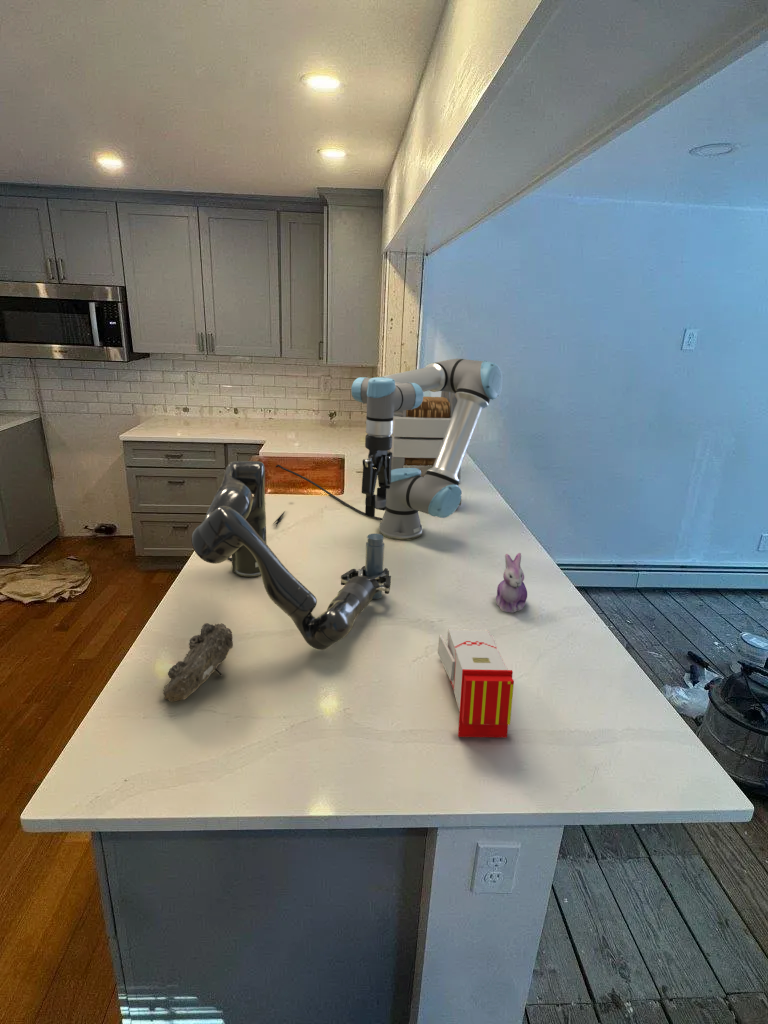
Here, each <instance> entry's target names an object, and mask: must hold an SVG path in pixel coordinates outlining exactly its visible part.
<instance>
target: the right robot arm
mask: <svg viewBox="0 0 768 1024" xmlns="http://www.w3.org/2000/svg"><path fill="white" fill-rule="evenodd" d="M503 380H504V379H503V373H502V370H501V367H500V366H499V365H498V364H497V363H495V362H492V361H487V360H477V359H476V360H474V359H467V358H466V359H465V358H451V359H450V358H449V359H445V360H441V361H435V362H432V363H428V364H427V365H425V367H422V368H417V369H412V370H406V371H402V372H396V373H391V374H387V375H382V376H377V377H367V376H365V377H361V376H360V377H357V378H356V379H354V380H353V382H352V384H351V387H350V388H351V389H350V390H351V396H352V398H353V400H354V401H355V402H358V403H362V405H363V404H364V405H366V416H365V417H366V418H365V419H366V420H365V433H366V435H365V443H364V446H365V449H367V450H368V455H367V458H366V459H365V458H364V459H362V478H361V494H363V495H365V499H366V505H365V506H364V507H365V510H364V511H363V510H360V509H358V508H356V507H354V506H353V505H351V504H349V503H347V502H346V501H343V500H342V499H341V498H339V497H337V496H336V495H334V494H333V493H331V491H328V490H327V489H325V488H324V487H322V486H320V485H319V484H318V483H316V482H314V481H312V480H311V479H309V478H307V477H305V476H303V475H301V474H300V473H297V472H295V471H292V470H290V469H288V468H285V467H284V466H282V465H280V464H276V465H275V468H280V469H282V470H284V471H286V472H288V473H291V474H293V475H294V476H296V477H298V478H301V479H303V480H304V481H306V482H307V483H309V484H311V485H313V486H315V487H316V488H318V489H320V490H321V491H322V492H325V493H326V494H327V495H329V496H330V497H332V498H333V499H334V500H336V501H338V502H340V503H341V504H342V505H344V506H346V507H348V508H349V509H351V510H352V511H355V512H357V513H359V514H361V515H363V516H365V517H368V518H370V519H373V520H377V521H381V522H379V526H378V533H379V534H381V535H383V537H384V538H387V539H389V540H395V541H410V540H415V539H418V538H420V537H421V536H422V535H423V525H422V524H421V518H420V515H419V512H420V513H423V514H426V515H429V516H431V517H437V518H441V519H445V518H448V517H450V516H451V515H453V514H454V513H455V512H456V511H457V509H458V508H459V504H460V501H461V502H462V489H461V487H460V486H459V485H460V483H461V481H460V482H459V479H458V477H457V475H458V472H459V469H460V467H461V468H462V464H463V462H464V458H465V456H466V453H467V451H468V447H469V445H470V443H471V440H472V436H473V434H474V432H475V429H476V426H477V423H478V421H479V418H480V416H481V413H482V410H483V409H486V408H487V407H488V406H489V404H490V401H491V400H493V401H494V400H496V399H498V397H500V395H501V392H502V390H503V389H502V388H503ZM428 391H430V392H432V393H437V392H442V391H445V392H452V393H455V396H456V399H457V403H456V406H455V409H454V411H453V414H452V417H451V420H450V422H449V425H448V428H447V430H446V433H445V436H444V438H443V441H442V444H441V446H440V449H439V452H438V454H437V457H436V460H435V463H434V465H433V466H431V467H430V468H428V469H427V470H426V471H425V473H424V476H423V475H422V470H421V469H420V468H416V467H404V468H398V469H394V470H391V459H392V452H388V451H387V450H390V449H391V448H392V436H391V434H393V414H394V412H395V411H403V410H412V409H415V408H417V407H419V406H420V405H421V403H422V401H423V397H424V392H428ZM377 483H378V487H377V488H376V485H377ZM375 491H376V494H375ZM376 495H382V496H385V497H386V506H385V507H383V508H375V497H376ZM376 510H379V511H383V512H384V513H383V515H382V517H378V516H376V515H375V514H376Z"/></svg>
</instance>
